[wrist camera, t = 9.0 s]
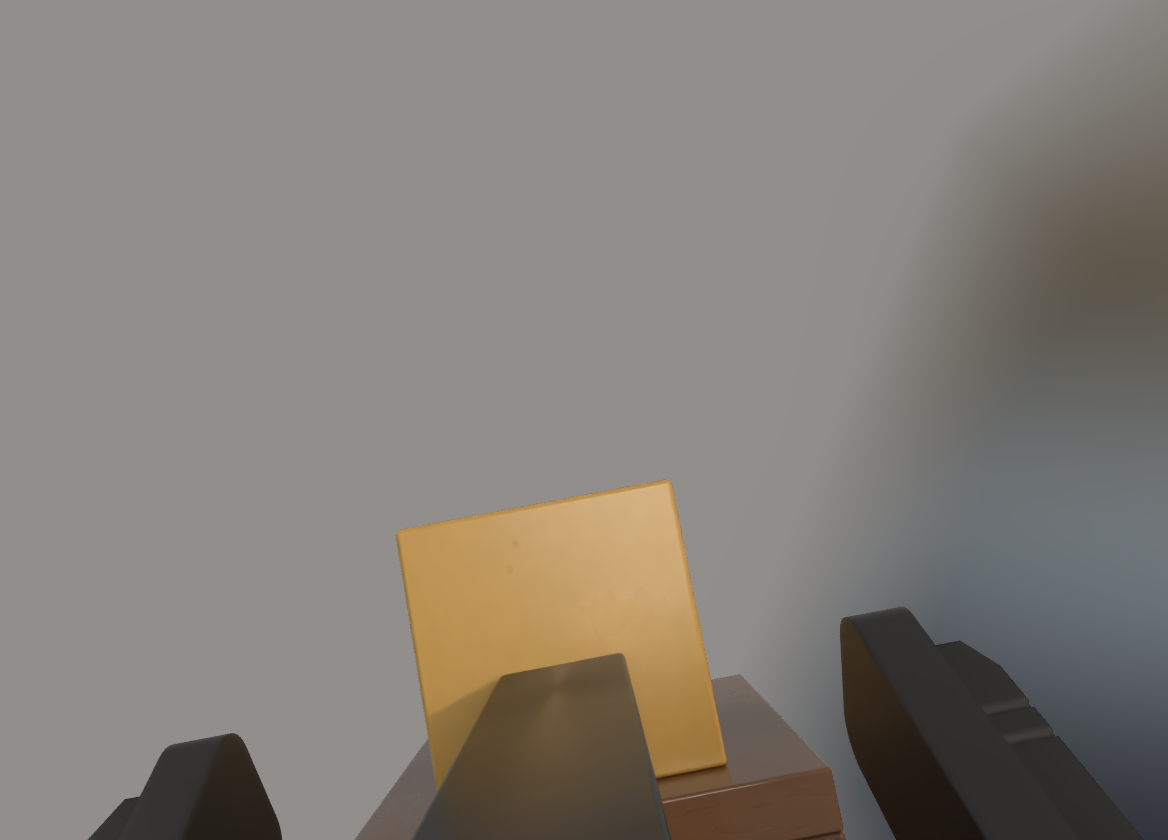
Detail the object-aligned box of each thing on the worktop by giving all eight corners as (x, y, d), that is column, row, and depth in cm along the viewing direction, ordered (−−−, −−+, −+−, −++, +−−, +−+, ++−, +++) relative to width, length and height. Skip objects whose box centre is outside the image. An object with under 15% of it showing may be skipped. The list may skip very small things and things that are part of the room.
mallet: (961, 1180, 5) (795, 421, 6) (190, 1337, 5) (95, 551, 6) (692, 702, 19) (650, 487, 20) (478, 743, 19) (442, 527, 20)
